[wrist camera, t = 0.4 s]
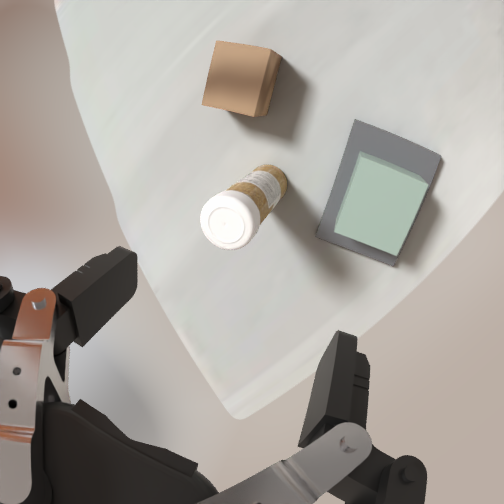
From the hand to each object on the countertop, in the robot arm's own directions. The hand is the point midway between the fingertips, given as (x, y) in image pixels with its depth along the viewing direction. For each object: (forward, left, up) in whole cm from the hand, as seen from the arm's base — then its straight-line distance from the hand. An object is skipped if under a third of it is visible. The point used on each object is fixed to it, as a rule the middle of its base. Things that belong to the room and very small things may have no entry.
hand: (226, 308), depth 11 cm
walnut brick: (-8, -9, -26) cm, 28 cm away
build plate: (0, +8, -26) cm, 27 cm away
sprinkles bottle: (+3, -4, -26) cm, 26 cm away
